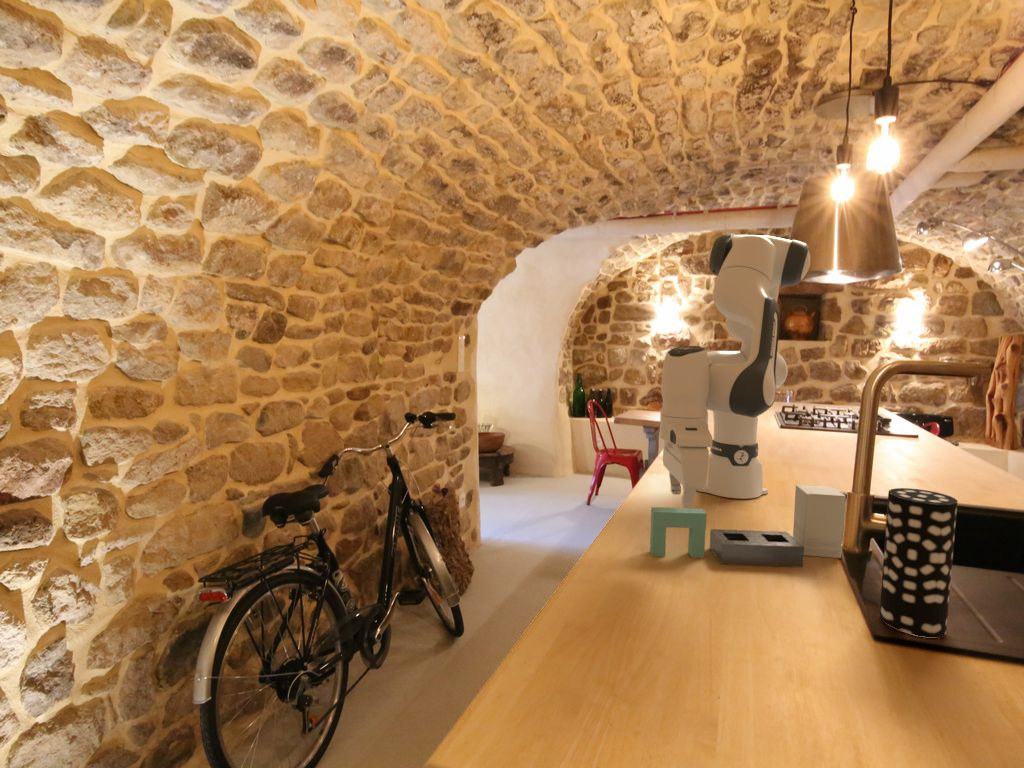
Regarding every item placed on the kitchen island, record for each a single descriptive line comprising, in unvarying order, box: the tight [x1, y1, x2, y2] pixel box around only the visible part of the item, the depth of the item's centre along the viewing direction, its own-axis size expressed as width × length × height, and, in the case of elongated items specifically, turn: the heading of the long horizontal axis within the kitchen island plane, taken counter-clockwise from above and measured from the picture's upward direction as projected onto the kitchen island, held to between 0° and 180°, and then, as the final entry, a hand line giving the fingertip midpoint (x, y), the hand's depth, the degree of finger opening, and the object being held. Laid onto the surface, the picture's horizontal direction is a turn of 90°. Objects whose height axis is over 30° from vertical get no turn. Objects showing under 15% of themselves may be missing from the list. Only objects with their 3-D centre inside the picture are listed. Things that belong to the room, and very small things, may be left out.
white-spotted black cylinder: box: [879, 487, 958, 638], centre depth 85 cm, size 8×8×20 cm
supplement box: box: [792, 484, 847, 559], centre depth 114 cm, size 7×7×13 cm
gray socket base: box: [709, 528, 805, 568], centre depth 110 cm, size 8×15×4 cm, turn 86°
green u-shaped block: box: [649, 506, 707, 558], centre depth 111 cm, size 3×10×9 cm, turn 86°
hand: (681, 500), depth 110 cm, fingers open, 8 cm apart
